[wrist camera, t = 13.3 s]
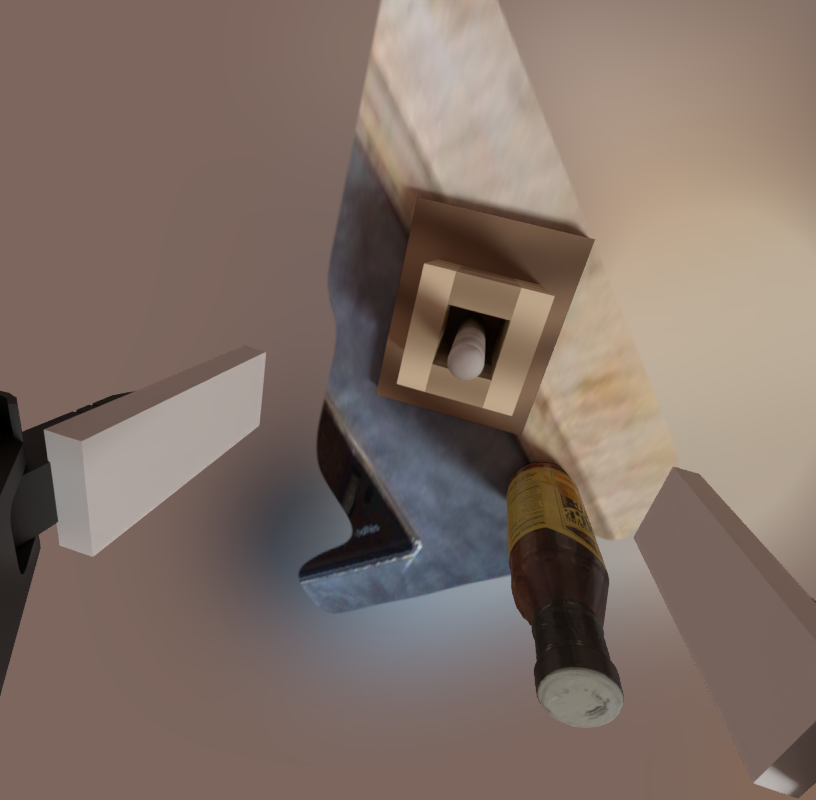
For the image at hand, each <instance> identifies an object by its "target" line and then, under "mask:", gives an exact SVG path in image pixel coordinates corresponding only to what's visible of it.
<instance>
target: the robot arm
mask: <svg viewBox="0 0 816 800" xmlns="http://www.w3.org/2000/svg"><path fill="white" fill-rule="evenodd" d="M265 359H266V352H265V351H261V350H258V349H255V348H251V347H248V346H243V347H240V348H238V349H235V350H233V351H230V352H228V353H226V354H223V355H221V356H218V357H216V358H214V359H211V360H209V361H207V362H205V363H202V364H199V365H197V366H195V367H192V368H190V369H187V370H185V371H183V372H180V373H178V374H175V375H173V376H171V377H168V378H166V379H164V380H161V381H159V382H156V383H154V384H152V385H149V386H147V387H144V388H142V389H140V390H137V391H133V392H128V393H123V394H117V395H112V396H110V397H107V398H105V399H103V400H100V401H97V402H95V403H93V405H92V406H91V405H87V406H85V407H83V408H80V409H78V410H77V411H76V412H70V413H68V414H65V415H63V416H60V417H58V418H55V419H53V420H50V421H48V422H46V423H43V424H41V425H38V426H35V427H33V428H31V429H28V430H25V431H23V432H22V429H21V423H20V417H19V410H18V404H17V398H16V397H14V396H13V395H11V394H10V393H7V392H3V391H0V694H1V691H2V687H3V683H4V680H5V676H6V672H7V668H8V665H9V661H10V658H11V654H12V650H13V647H14V643H15V639H16V636H17V632H18V628H19V625H20V621H21V617H22V614H23V610H24V606H25V603H26V599H27V595H28V592H29V588H30V585H31V581H32V577H33V573H34V570H35V566H36V562H37V559H38V555H39V551H40V540H39V534H40V533H42V532H43V531H45V530H46V529H48V528H49V527H51V526H52V525H54V524H56V523H57V529H58V536H59V543H60V546H63V547H66V548H69V549H72V550H75V551H77V552H80V553H83V554H86V555H89V556H92V557H93V556H94V555H96V554H97V553H98V552H100V551H101V550H102V549H103V548H105V547H106V546H107V545H108V544H110V543H111V542H112V541H113V540H115V539H116V538H117V537H119V536H120V535H121V534H122V533H124V532H125V531H126V530H127V529H129V528H130V527H131V526H132V525H134V524H135V523H136V522H138V521H139V520H140V519H141V518H143V517H144V516H145V515H146V514H148V513H149V512H150V511H151V510H153V509H154V508H155V507H157V506H158V505H159V504H160V503H162V502H163V501H164V500H165V499H167V498H168V497H169V496H170V495H172V494H173V493H174V492H175V491H177V490H178V489H179V488H181V487H182V486H183V485H184V484H186V483H187V482H188V481H189V480H191V479H192V478H193V477H195V476H196V475H197V474H198V473H199V472H201V471H202V470H203V469H204V468H206V467H207V466H208V465H210V464H211V463H212V462H213V461H215V460H216V459H217V458H219V457H220V456H221V455H222V454H224V453H225V452H226V451H227V450H229V449H230V448H231V447H232V446H234V445H235V444H236V443H238V442H239V441H240V440H241V439H242V438H244V437H245V436H246V435H248V434H249V433H250V432H251V431H253V430H254V429H255V428H257V427H258V426H259V424H260V413H261V402H262V391H263V379H264V369H265ZM634 539H635V541H636V543H637V545H638V548H639V550H640V552H641V554H642V556H643V558H644V560H645V562H646V564H647V566H648V568H649V570H650V572H651V574H652V576H653V578H654V580H655V582H656V584H657V587H658V588H659V591H660V593H661V595H662V597H663V599H664V601H665V603H666V605H667V607H668V609H669V611H670V613H671V615H672V617H673V619H674V621H675V623H676V625H677V628H678V630H679V632H680V634H681V636H682V638H683V640H684V642H685V644H686V646H687V648H688V650H689V652H690V654H691V656H692V658H693V660H694V663H695V664H696V666H697V669H698V671H699V673H700V675H701V677H702V679H703V681H704V683H705V685H706V687H707V689H708V691H709V693H710V695H711V697H712V699H713V701H714V703H715V706H716V708H717V710H718V712H719V714H720V716H721V718H722V720H723V722H724V724H725V726H726V728H727V730H728V732H729V734H730V736H731V739H732V740H733V743H734V745H735V746H736V749H737V751H738V753H739V755H740V757H741V759H742V761H743V763H744V765H745V767H746V769H747V771H748V773H749V775H750V778H751V780H752V782H753V783H754V784H757V785H761V786H763V787H766V788H769V789H772V790H775V791H778V792H781V793H784V794H787V795H789V796H792V797H796V798H799V797H800V796H802V795H803V794H804V793H805V792H806V791H807V790H808V789H809V788H810V787H811V786H813V785H814V784H815V783H816V601H815V600H814V599H813V598H811V597H810V596H809V595H808V594H807V592H805V590H804V589H803V588H802V587H801V586H800V585H799V584H798V583H797V581H796V580H795V579H794V578H793V577H792V576H791V575H790V574H789V573H788V571H787V570H786V569H785V568H784V567H783V566H782V565H781V564H780V563H779V562H778V560H777V559H776V558H775V557H774V556H773V555H772V554H771V553H770V552H769V551H768V549H767V548H766V547H765V546H764V545H763V544H762V543H761V542H760V541H759V539H757V537H756V536H755V535H754V534H753V533H752V532H751V531H750V530H749V528H748V527H747V526H746V525H745V524H744V523H743V522H742V521H741V520H740V518H739V517H738V516H737V515H736V514H735V513H734V512H733V511H732V510H731V509H730V507H729V506H728V505H727V504H726V503H725V502H724V501H723V500H722V499H721V497H720V496H719V495H718V494H717V493H716V492H715V491H714V490H713V489H712V487H710V485H709V484H708V483H707V482H706V481H705V480H704V479H703V478H702V477H701V475H700V474H697V473H694V472H690V471H687V470H683V469H680V468H676V467H673V468H672V470H671V471H670V473H669V475H668V477H667V479H666V480H665V482H664V484H663V486H662V488H661V489H660V491H659V493H658V495H657V496H656V498H655V500H654V502H653V504H652V505H651V507H650V509H649V511H648V513H647V514H646V516H645V518H644V520H643V521H642V523H641V525H640V527H639V529H638V530H637V532H636V534H635V536H634Z"/></svg>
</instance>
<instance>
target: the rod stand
mask: <svg viewBox="0 0 816 800" xmlns="http://www.w3.org/2000/svg"><path fill="white" fill-rule="evenodd" d="M594 241H595V239H591V238H587V237H583V236H579V235H574V234H570V233H566V232H562V231H558V230H553V229H549V228H545V227H541V226H537V225H533V224H528V223H524V222H520V221H516V220H512V219H508V218H503V217H499V216H495V215H491V214H487V213H482V212H478V211H474V210H470V209H466V208H462V207H457V206H453V205H449V204H445V203H441V202H436V201H432V200H428V199H424V198H420V197H417V202H416V207H415V212H414V216H413V221H412V226H411V231H410V235H409V240H408V245H407V250H406V254H405V259H404V264H403V268H402V273H401V278H400V283H399V287H398V292H397V297H396V302H395V306H394V311H393V316H392V321H391V325H390V330H389V335H388V339H387V344H386V349H385V354H384V358H383V363H382V368H381V373H380V377H379V382H378V387H377V392H376V395H380V396H383V397H387V398H390V399H394V400H397V401H401V402H404V403H408V404H411V405H415V406H418V407H422V408H425V409H429V410H432V411H436V412H439V413H443V414H446V415H450V416H453V417H457V418H460V419H464V420H467V421H471V422H474V423H478V424H481V425H485V426H488V427H492V428H495V429H499V430H502V431H506V432H509V433H513V434H516V435H520V436H521V434H522V432H523V429H524V427H525V424H526V421H527V419H528V416H529V413H530V411H531V408H532V405H533V403H534V400H535V397H536V395H537V392H538V389H539V387H540V384H541V381H542V379H543V376H544V373H545V371H546V368H547V365H548V363H549V360H550V358H551V355H552V352H553V350H554V347H555V344H556V342H557V339H558V336H559V334H560V331H561V328H562V326H563V323H564V320H565V318H566V315H567V312H568V310H569V307H570V304H571V302H572V299H573V296H574V294H575V291H576V289H577V286H578V283H579V281H580V278H581V275H582V273H583V270H584V267H585V265H586V262H587V259H588V257H589V254H590V251H591V249H592V246H593V243H594ZM437 259H438V260H442V261H446V262H450V263H454V264H458V265H462V266H466V267H470V268H474V269H478V270H482V271H486V272H490V273H494V274H498V275H502V276H506V277H510V278H514V279H518V280H522V281H526V282H530V283H534V284H538V285H542V286H543V287H544V288H545V289H547V290H548V291H549V292H550V293H552V294H553V295H554V296H555V297H554V300H553V303H552V306H551V309H550V311H549V314H548V317H547V320H546V323H545V325H544V328H543V331H542V334H541V337H540V339H539V342H538V345H537V348H536V351H535V353H534V356H533V359H532V362H531V365H530V367H529V370H528V373H527V376H526V379H525V381H524V384H523V387H522V390H521V393H520V395H519V398H518V401H517V404H516V407H515V409H514V412H513V415H512V416H510V415H506V414H502V413H499V412H495V411H492V410H488V409H485V408H481V407H477V406H474V405H470V404H467V403H463V402H460V401H456V400H452V399H449V398H445V397H442V396H438V395H435V394H431V393H427V392H424V391H420V390H417V389H413V388H410V387H406V386H402V385H399V384H397V380H398V376H399V371H400V367H401V363H402V358H403V354H404V349H405V345H406V341H407V336H408V332H409V327H410V323H411V319H412V314H413V310H414V306H415V301H416V297H417V292H418V288H419V284H420V279H421V275H422V270H423V266H424V263H427V262H430V261H434V260H437ZM501 321H502V318H499V317H495V316H491V315H487V314H483V313H480V312H476V311H472V310H468V309H464V308H460V307H456V306H452V310H451V313H450V317H449V321H448V325H447V328H446V332H445V336H444V340H443V341H445V342H448V343H452V344H453V345H452V348H451V351H450V354H449V356H448V368H449V371H450V372H451V374H452V375H453V376H454V377H456V378H457V379H460V380H472V379H474V378H476V377H477V376H478V375H479V374H480V373H481V372H482V370H483V368H484V361H485V352H486V353H489V354H491V353H492V350H493V347H494V343H495V340H496V337H497V334H498V331H499V328H500V324H501Z"/></svg>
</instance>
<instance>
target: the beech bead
mask: <svg viewBox="0 0 816 800" xmlns="http://www.w3.org/2000/svg"><path fill="white" fill-rule="evenodd" d="M554 297H555V296H554V295H553V294H552V293H550V292H549V291H548V290H547V289H545V288H544V287H543V286H542V285H538V284H534V283H530V282H526V281H522V280H518V279H514V278H510V277H506V276H502V275H498V274H494V273H490V272H486V271H482V270H478V269H474V268H470V267H466V266H462V265H458V264H454V263H450V262H446V261H442V260H438V259H437V260H434V261H430V262H427V263H424V266H423V270H422V275H421V279H420V284H419V288H418V292H417V297H416V301H415V306H414V310H413V314H412V319H411V323H410V327H409V332H408V336H407V341H406V345H405V349H404V354H403V358H402V363H401V367H400V371H399V376H398V380H397V384H399V385H402V386H406V387H410V388H413V389H417V390H420V391H424V392H427V393H431V394H435V395H438V396H442V397H445V398H449V399H452V400H456V401H460V402H463V403H467V404H470V405H474V406H477V407H481V408H485V409H488V410H492V411H495V412H499V413H502V414H506V415H510V416H512V415H513V412H514V409H515V407H516V404H517V401H518V398H519V395H520V393H521V390H522V387H523V384H524V381H525V379H526V376H527V373H528V370H529V367H530V365H531V362H532V359H533V356H534V353H535V351H536V348H537V345H538V342H539V339H540V337H541V334H542V331H543V328H544V325H545V323H546V320H547V317H548V314H549V311H550V309H551V306H552V303H553V300H554ZM452 306H456V307H460V308H464V309H468V310H472V311H476V312H480V313H483V314H487V315H491V316H495V317H499V318H502V321H501V324H500V328H499V331H498V334H497V337H496V340H495V343H494V347H493V350H492V353H491V354H489V353H486V352H485V361H484V368H483V370H482V372H481V373H480V374H479V375H478V376H477V377H476V378H474V379H472V380H460V379H457V378H456V377H454V376H453V375H452V374H451V372H450V371H449V368H448V356H449V354H450V351H451V348H452V345H453V344H452V343H448V342H445V341H443V340H444V336H445V332H446V328H447V325H448V321H449V317H450V313H451V310H452Z"/></svg>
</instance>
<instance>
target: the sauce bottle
mask: <svg viewBox="0 0 816 800" xmlns="http://www.w3.org/2000/svg"><path fill="white" fill-rule="evenodd" d="M507 522H508V549H509V566H510V570H511V588H512V594H513V597H514V601H515V604H516V607H517V609H518V610H519V612H520V613H521V615H522V616H523V618H524V619H526V620H527V621H528V622H529V624H530V625H531V626H532V634H533V637H534V639H535V647H536V655H537V656H536V658H537V662H536V664H535V668H534V676H535V686H536V692H537V698H538V700H539V702H540V704H541V705H542V707H543V708H544V710H545V711H546V712H547V713H548V714H549V715H550V716H552V717H553V718H554V719H556V720H558V721H561V722H564V723H566V724H568V725H571V726H575V727H597V726H601V725H604V724H606V723H609V722H611V721H612V720H613V719H614V718H615V717H616V716H617V715H618V713H619V712H620V711H621V709H622V706H623V703H624V695H623V691H622V687H621V682H620V678H619V674H618V671H617V669H616V667H615V666H614V664H613V663H612V662H611V660H610V656H609V652H608V649H607V646H606V643H605V639H604V631H603V625H604V618H605V610H606V602H607V595H608V587H609V577H608V573H607V570H606V567H605V564H604V562H603V558H602V556H601V553H600V550H599V548H598V544H597V542H596V538H595V536H594V532H593V530H592V527H591V524H590V522H589V519H588V516H587V513H586V510H585V508H584V505H583V502H582V499H581V496H580V494H579V491H578V488H577V486H576V484H575V483H574V481H573V480H572V479H571V478H570V477H569V475H568V474H567V473H566V472H565V471H564V470H562V469H561V468H560V467H559V466H556V465H553V464H550V463H531V464H528V465H526V466H524V467H522V468H521V469H519V470H518V471H517V472H516V473H515V474H514V475H513V476H512V477H511V479H510V481H509V486H508V491H507Z"/></svg>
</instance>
